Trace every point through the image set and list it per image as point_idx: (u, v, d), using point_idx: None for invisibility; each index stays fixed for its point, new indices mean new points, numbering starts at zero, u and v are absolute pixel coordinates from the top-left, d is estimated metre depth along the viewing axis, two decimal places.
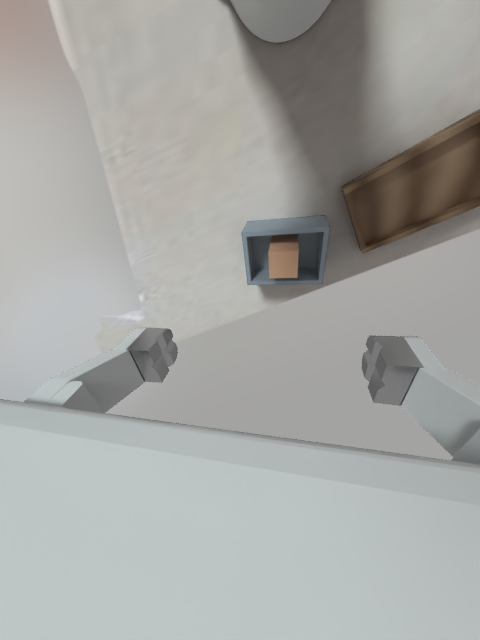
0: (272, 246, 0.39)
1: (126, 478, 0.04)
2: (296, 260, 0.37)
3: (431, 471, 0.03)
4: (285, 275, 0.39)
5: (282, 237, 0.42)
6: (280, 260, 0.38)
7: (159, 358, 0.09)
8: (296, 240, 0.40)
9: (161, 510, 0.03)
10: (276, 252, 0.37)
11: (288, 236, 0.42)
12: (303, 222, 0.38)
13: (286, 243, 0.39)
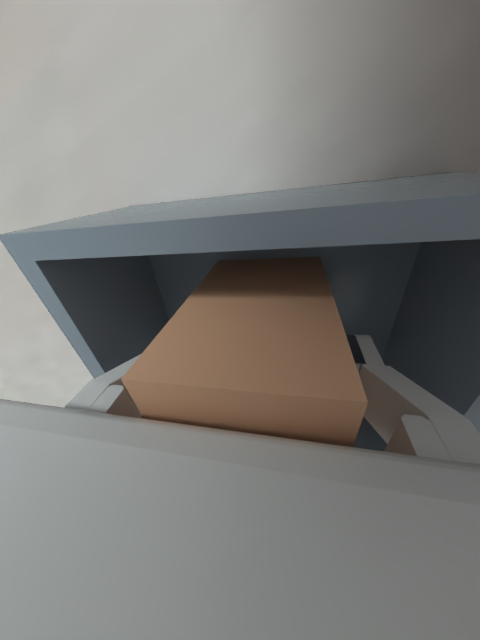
0: (186, 317, 0.07)
1: (126, 478, 0.04)
2: None
3: (431, 472, 0.03)
4: None
5: (256, 267, 0.10)
6: None
7: None
8: (319, 286, 0.08)
9: (161, 510, 0.03)
10: (178, 388, 0.05)
11: (281, 263, 0.10)
12: (364, 189, 0.07)
13: (269, 303, 0.07)
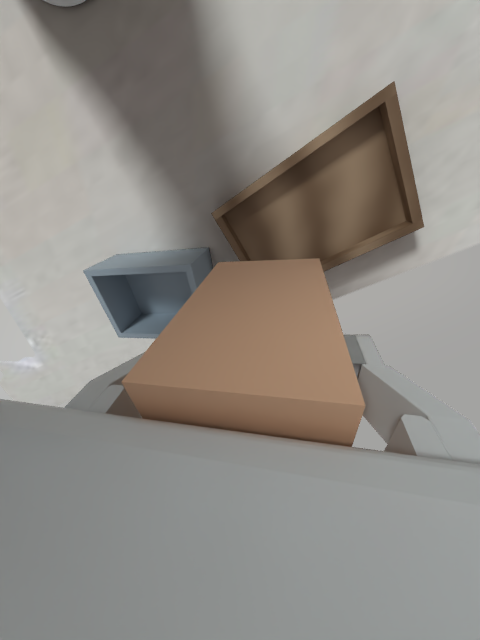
0: (185, 320, 0.07)
1: (126, 478, 0.04)
2: None
3: (431, 472, 0.03)
4: None
5: (255, 269, 0.10)
6: None
7: None
8: (318, 289, 0.08)
9: (161, 510, 0.03)
10: (178, 391, 0.05)
11: (280, 265, 0.10)
12: (169, 257, 0.27)
13: (269, 306, 0.07)
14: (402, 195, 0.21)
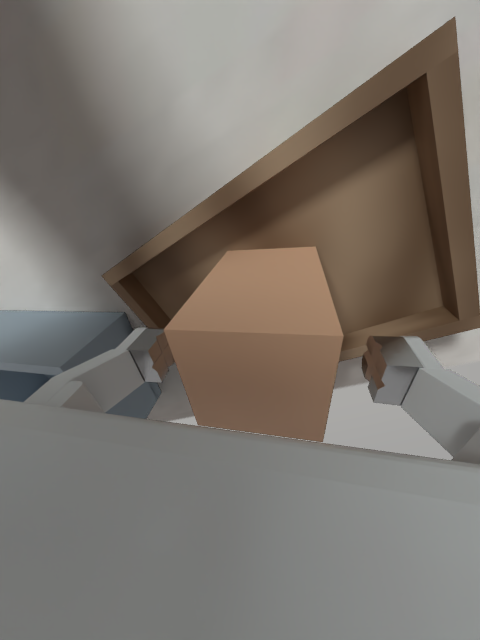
0: (206, 291, 0.08)
1: (126, 478, 0.04)
2: (324, 381, 0.06)
3: (431, 472, 0.03)
4: (266, 427, 0.08)
5: (260, 255, 0.12)
6: (237, 372, 0.07)
7: (159, 358, 0.09)
8: (314, 268, 0.09)
9: (161, 510, 0.03)
10: (207, 334, 0.06)
11: (282, 252, 0.12)
12: (50, 335, 0.17)
13: (273, 281, 0.09)
14: (442, 268, 0.11)
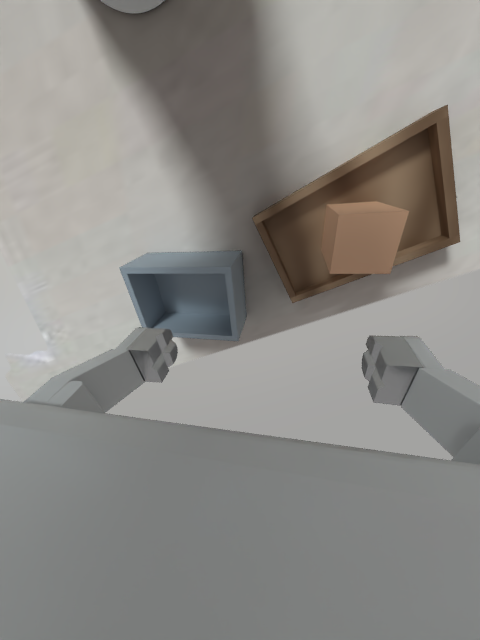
0: (339, 210, 0.20)
1: (126, 478, 0.04)
2: (398, 234, 0.18)
3: (431, 472, 0.03)
4: (365, 268, 0.19)
5: (349, 204, 0.23)
6: (362, 234, 0.18)
7: (159, 358, 0.09)
8: (383, 204, 0.20)
9: (161, 510, 0.03)
10: (356, 215, 0.17)
11: (360, 203, 0.23)
12: (205, 259, 0.28)
13: (367, 207, 0.20)
14: (441, 211, 0.22)
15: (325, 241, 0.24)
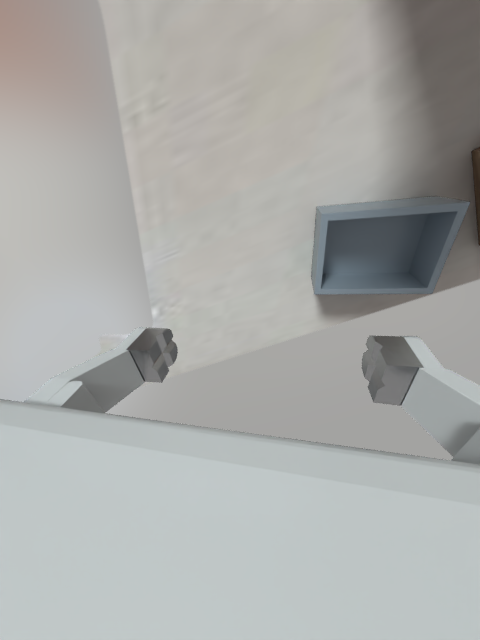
0: None
1: (126, 478, 0.04)
2: None
3: (431, 471, 0.03)
4: None
5: None
6: None
7: (159, 358, 0.09)
8: None
9: (161, 510, 0.03)
10: None
11: None
12: (412, 202, 0.26)
13: None
14: None
15: None
